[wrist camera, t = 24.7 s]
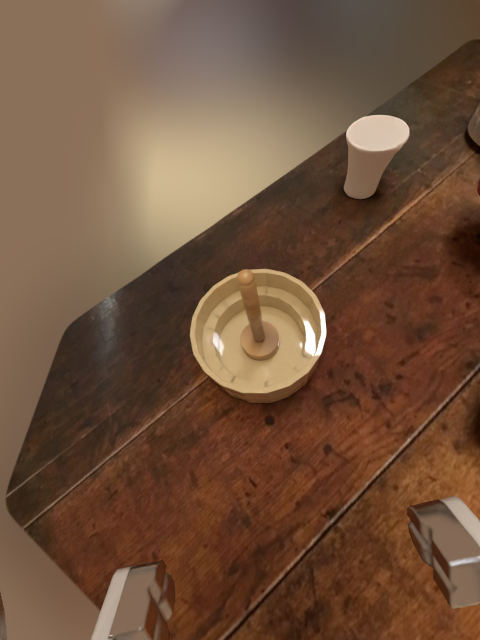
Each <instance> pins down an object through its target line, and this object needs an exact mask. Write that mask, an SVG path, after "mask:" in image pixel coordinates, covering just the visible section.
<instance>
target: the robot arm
mask: <svg viewBox="0 0 480 640" xmlns="http://www.w3.org/2000/svg"><path fill="white" fill-rule="evenodd" d="M407 515H408V516H409V518H410V520H411V521H410V522H409V524H408V528H409V533H410V536H411V539H412V542H413V544H414V546H415V548H416V550H417V552H418V553H419V555H420V557H421V559H422V560H423V561H424V562H425V563H426V564H428V565H429V566H430V567H432V568H433V577H434V580H435V582H436V584H437V585H438V587H439V589H440V590H441V592H442V594H443V595H444V597H445V599H446V600H447V602H448V604H449V605H450V607H451V609H453V608H459V607H465V606H472V605H478V604H480V520H479V519H478V518H477V517H476V516H475V515H474V514H473V513H472V511H471V510H470V509H469V508H468V507H467V506H466V505H465V504H464V502H463V501H462V500H461V499H459V498H458V497H454V496H453V497H449V498H444V499H440V500H434V501H430V502H426V503H421V504H417V505H413V506H409V507H408V508H407ZM174 603H175V586H174V581H173V578H172V576H171V575H170V574H168V573H166V564H165V563H164V561H163V560H161V561H156V562H151V563H147V564H142V565H138V566H131V567H127V568H122V569H118V570H117V571H116V572H115V574H114V576H113V577H112V580H111V583H110V586H109V589H108V592H107V595H106V597H105V600H104V603H103V606H102V609H101V612H100V615H99V617H98V620H97V623H96V626H95V629H94V632H93V635H92V638H91V640H169V637H170V631H169V628H168V626H167V622H168V621H169V619H170V617H171V615H172V614H173V610H174Z"/></svg>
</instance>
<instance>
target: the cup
mask: <svg viewBox="0 0 480 640" xmlns="http://www.w3.org/2000/svg"><path fill="white" fill-rule="evenodd" d="M408 137H409V127H408V125H407V124H406V123H405V122H404V121H403V120H401V119H399V118H396V117H392V116H386V115H372V116H367V117H362V118H361V119H359V120H357V121H356V122H354V123H353V124H352V125H351V126H350V127H349V128H348V130H347V133H346V138H347V143H348V148H349V152H348V171H347V177H346V181H345V184H344V191H345V193H346V194H347V195H348V196H349V197H351V198H354V199H366V198H368V197H370V196H372V195H373V194H374V192H375V191H376V188H377V186H378V183H379V181H380V178H381V176H382V174H383V172H384V170H385V168H386V167H387V165H388V164H389V163H390V161H391V159H392V157H393V156H394V155H395V153H396V152H398V151H399V150H400V148H401V147H402V146H403V145H404V144H405V143H406V141H407V139H408Z"/></svg>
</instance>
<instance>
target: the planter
mask: <svg viewBox="0 0 480 640" xmlns="http://www.w3.org/2000/svg"><path fill="white" fill-rule="evenodd" d="M468 132H469V135H470V137H471V138H472V140H473V141H474V142H475V143H476V144H478V145H479V146H480V104H479V106H478V107H477V109H476V111H475V113H474V115H473V116H472V118H471V120H470V122H469V124H468Z"/></svg>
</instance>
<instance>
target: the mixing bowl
mask: <svg viewBox="0 0 480 640" xmlns="http://www.w3.org/2000/svg"><path fill="white" fill-rule="evenodd" d="M250 271H252V272H253V274H254V276H255V281H256V287H257V292H258V298H259V304H260V309H261V315H262V320H263V321H266V322H269V323H271V324H272V325H273V326H274V327H275V328H276V329H277V331H278V334H279V348H278V351H277V352H276V354H275V355H274V356H273V357H271V358H270V359H267V360H264V361H257V360H254V359H251V358H250V357H248V356H247V355H246V353H245V352H244V350H243V347H242V345H241V334H242V331H243V330H244V328H245V327H246V326H247V325H248V324H249V321H248V317H247V314H246V310H245V307H244V303H243V300H242V296H241V293H240V289H239V286H238V282H237V275H238V273H237V274H234V275H231V276H228V277H227V278H225V279H224V280H222V281H220V282H219V283H217V284H216V285H214V286H213V287H212V288H211V289H210V290H209V291H208V292H207V294H206V295H205V296H204V297H203V298H202V299H201V300H200V302H199V304H198V306H197V308H196V311H195V313H194V315H193V317H192V324H191V331H190V339H191V344H192V349H193V354H194V356H195V358H196V359H197V361H198V363H199V364H200V366H201V367H202V369H203V371H204V372H205V373H206V374H207V375H208V376H209V377H210V378H211V379H212V380H213V381H214V382H215V383H216V384H217V385H218V386H220V387H221V388H222V389H223V390H225V391H226V392H227V393H228V394H230V395H231V396H233V397H236V398H238V399H241V400H244V401H247V402H250V403H271V402H274V401H278V400H281V399H284V398H287V397H290V396H291V395H292V394H294V393H295V392H296V391H298V390H299V389H300V388H302V387H303V386H304V385H305V384H306V383H307V381H308V380H309V379H310V377H311V376H312V374H313V373H314V371H315V370H316V367H317V365H318V362H319V359H320V356H321V354H322V350H323V346H324V342H325V338H326V334H327V330H326V321H325V313H324V311H323V309H322V307H321V305H320V302H319V300H318V298H317V296H316V295H315V294H314V293H313V292H312V291H311V290H310V289H309V288H308V287H307V286H306V285H305V284H304V283H303V282H302V281H300V280H298V279H296V278H294V277H292V276H290V275H288V274H287V273H283V272H278V271H274V270H269V269H257V270H250Z"/></svg>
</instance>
